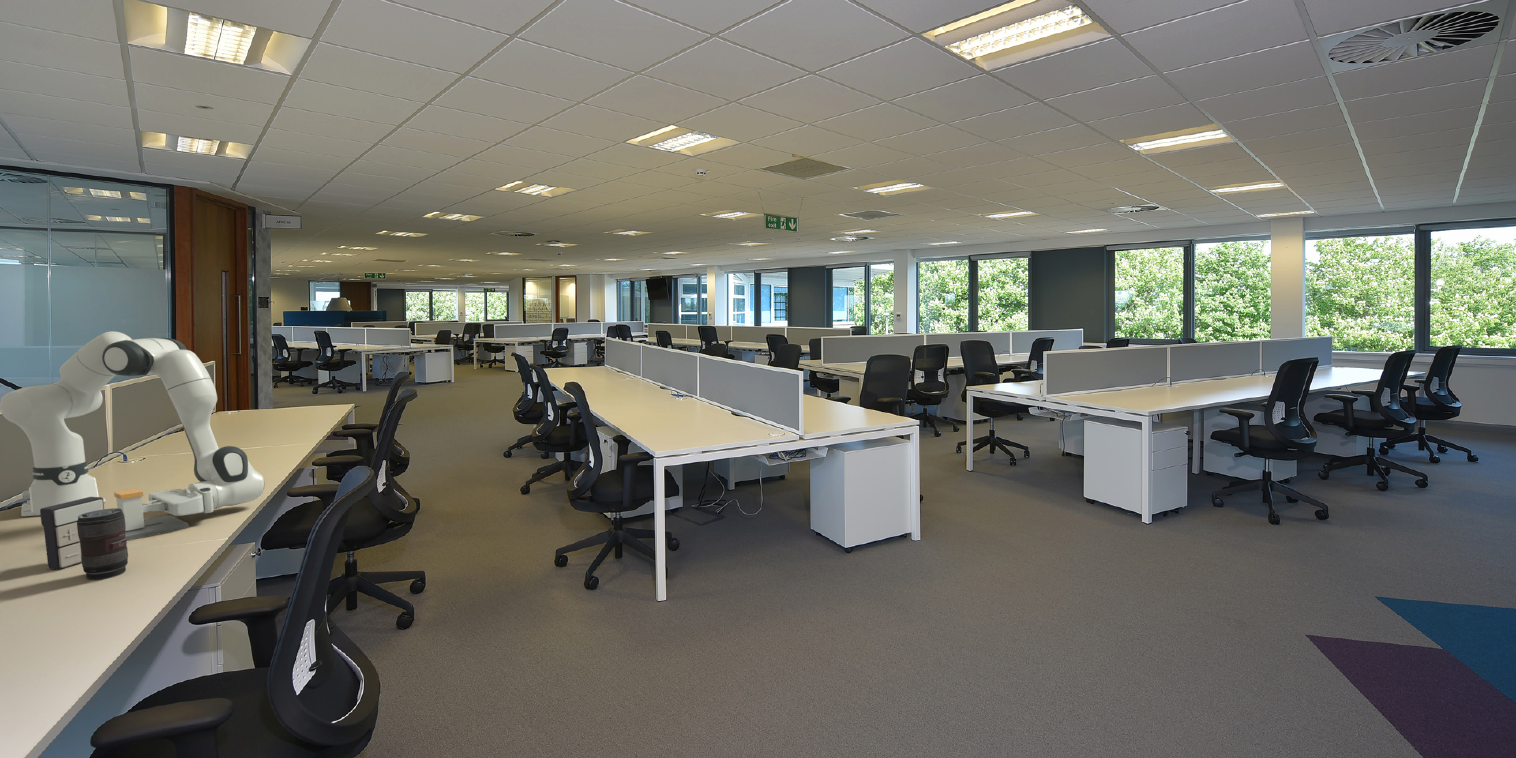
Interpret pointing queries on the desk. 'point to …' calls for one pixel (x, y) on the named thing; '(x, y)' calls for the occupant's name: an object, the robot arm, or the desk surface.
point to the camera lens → (103, 543)
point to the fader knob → (131, 507)
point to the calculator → (65, 530)
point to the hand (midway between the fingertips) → (139, 508)
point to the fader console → (156, 527)
